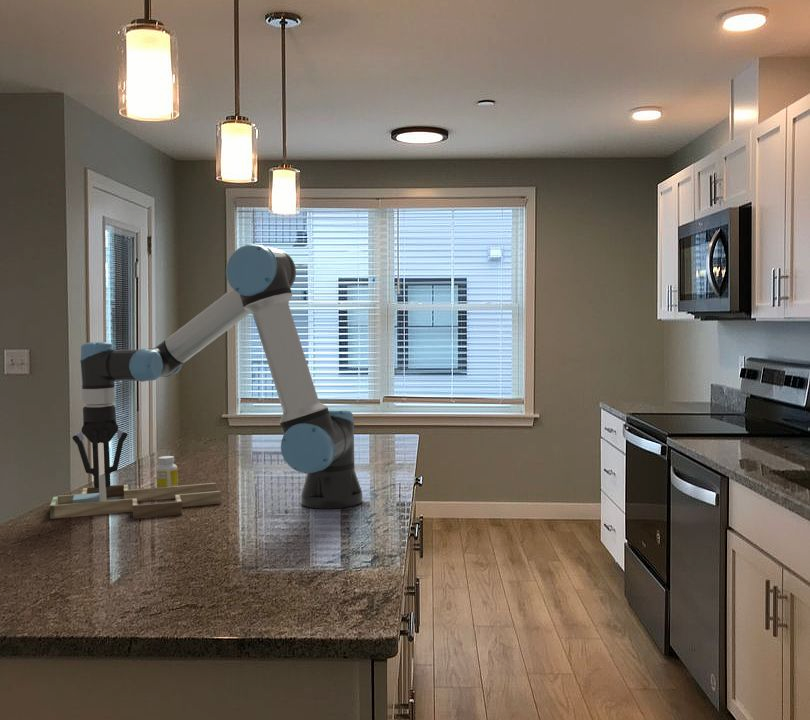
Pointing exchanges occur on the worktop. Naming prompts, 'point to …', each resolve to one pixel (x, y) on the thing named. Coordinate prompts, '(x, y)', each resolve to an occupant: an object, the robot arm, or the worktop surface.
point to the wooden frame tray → (127, 501)
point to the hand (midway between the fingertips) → (103, 500)
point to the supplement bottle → (167, 472)
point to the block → (86, 498)
